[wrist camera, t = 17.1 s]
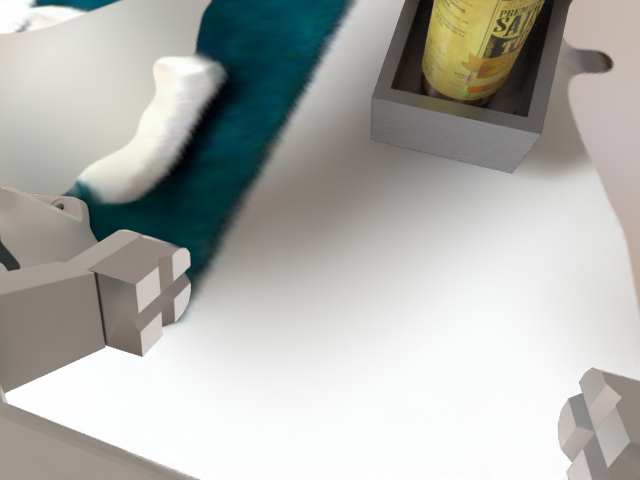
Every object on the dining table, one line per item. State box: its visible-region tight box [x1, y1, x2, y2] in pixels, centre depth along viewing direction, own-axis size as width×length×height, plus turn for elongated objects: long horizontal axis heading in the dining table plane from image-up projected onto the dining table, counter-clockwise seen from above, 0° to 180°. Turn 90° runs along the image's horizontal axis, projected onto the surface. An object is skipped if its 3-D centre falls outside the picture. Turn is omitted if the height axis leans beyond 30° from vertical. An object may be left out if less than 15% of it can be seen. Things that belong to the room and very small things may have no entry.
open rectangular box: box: [371, 0, 570, 173], centre depth 32 cm, size 11×12×6 cm
